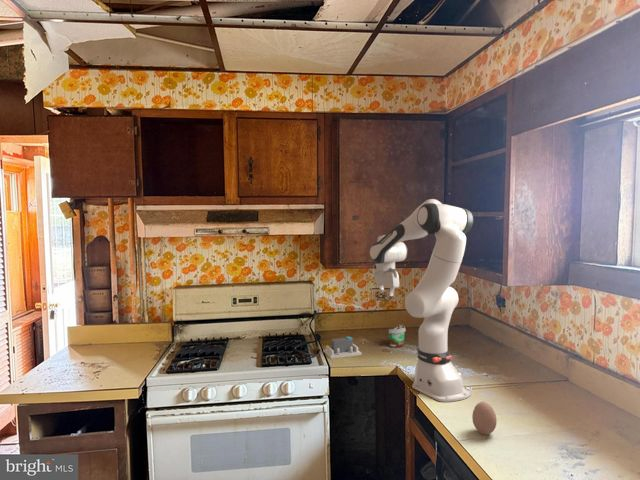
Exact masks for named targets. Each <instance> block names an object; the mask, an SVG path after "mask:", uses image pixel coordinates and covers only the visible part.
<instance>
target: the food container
mask: <svg viewBox="0 0 640 480" xmlns="http://www.w3.org/2000/svg"><path fill="white" fill-rule="evenodd" d="M406 331H407V329H406V327H405V325H404V324H401V323H399V324H398V325H397V326H394V327H393V328H388V335H389V347H390V348H391V349H400V348H403V347H404V345H405V332H406Z"/></svg>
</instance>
